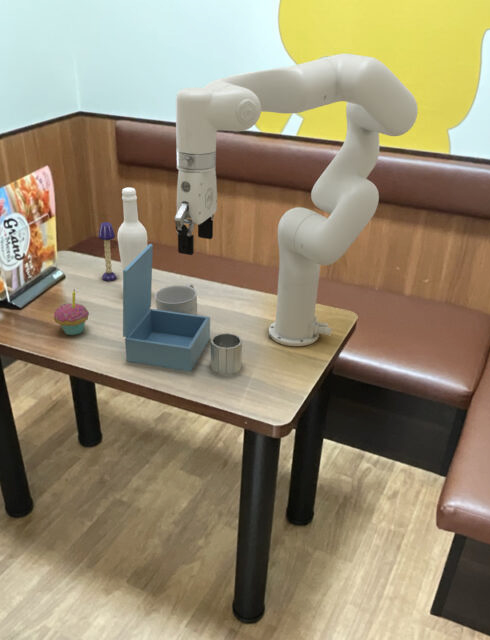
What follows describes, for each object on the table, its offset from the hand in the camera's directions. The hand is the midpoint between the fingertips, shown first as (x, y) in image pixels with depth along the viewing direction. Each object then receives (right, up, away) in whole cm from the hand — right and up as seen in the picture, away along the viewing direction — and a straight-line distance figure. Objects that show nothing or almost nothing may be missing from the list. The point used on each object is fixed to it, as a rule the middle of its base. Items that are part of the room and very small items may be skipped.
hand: (195, 245), depth 125 cm
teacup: (-5, -12, +34) cm, 36 cm away
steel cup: (+7, -25, +14) cm, 30 cm away
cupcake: (-32, -15, +29) cm, 45 cm away
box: (-7, -21, +20) cm, 30 cm away
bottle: (-17, -4, +45) cm, 49 cm away
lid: (-13, -7, +13) cm, 20 cm away
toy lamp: (-26, +3, +55) cm, 61 cm away
